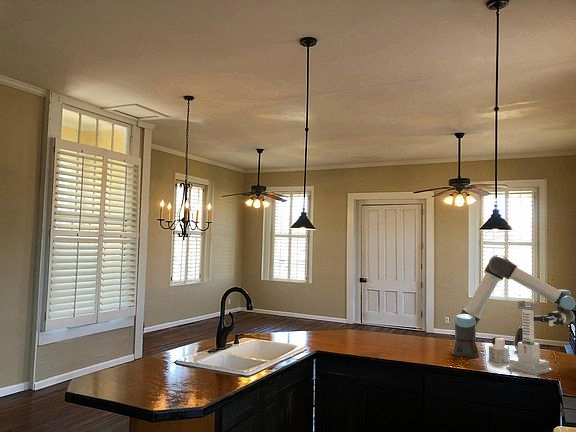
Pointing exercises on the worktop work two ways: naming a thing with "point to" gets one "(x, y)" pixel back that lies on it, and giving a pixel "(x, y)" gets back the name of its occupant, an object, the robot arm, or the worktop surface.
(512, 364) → the jack stand base
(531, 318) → the jack stand column
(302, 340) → the worktop surface
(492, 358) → the container
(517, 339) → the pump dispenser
